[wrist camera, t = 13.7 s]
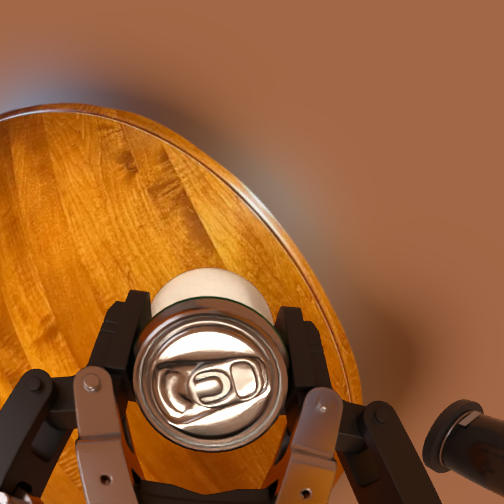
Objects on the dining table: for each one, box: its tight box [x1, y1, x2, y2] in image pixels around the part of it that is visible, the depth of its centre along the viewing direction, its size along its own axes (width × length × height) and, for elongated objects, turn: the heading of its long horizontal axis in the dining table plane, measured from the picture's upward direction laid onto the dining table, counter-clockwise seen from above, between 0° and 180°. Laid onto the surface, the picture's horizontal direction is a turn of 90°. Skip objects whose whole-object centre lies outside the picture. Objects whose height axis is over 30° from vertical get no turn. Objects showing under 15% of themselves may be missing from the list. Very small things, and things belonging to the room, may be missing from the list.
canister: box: [151, 268, 274, 326], centre depth 24 cm, size 9×9×7 cm
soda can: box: [129, 296, 291, 453], centre depth 13 cm, size 5×5×12 cm
